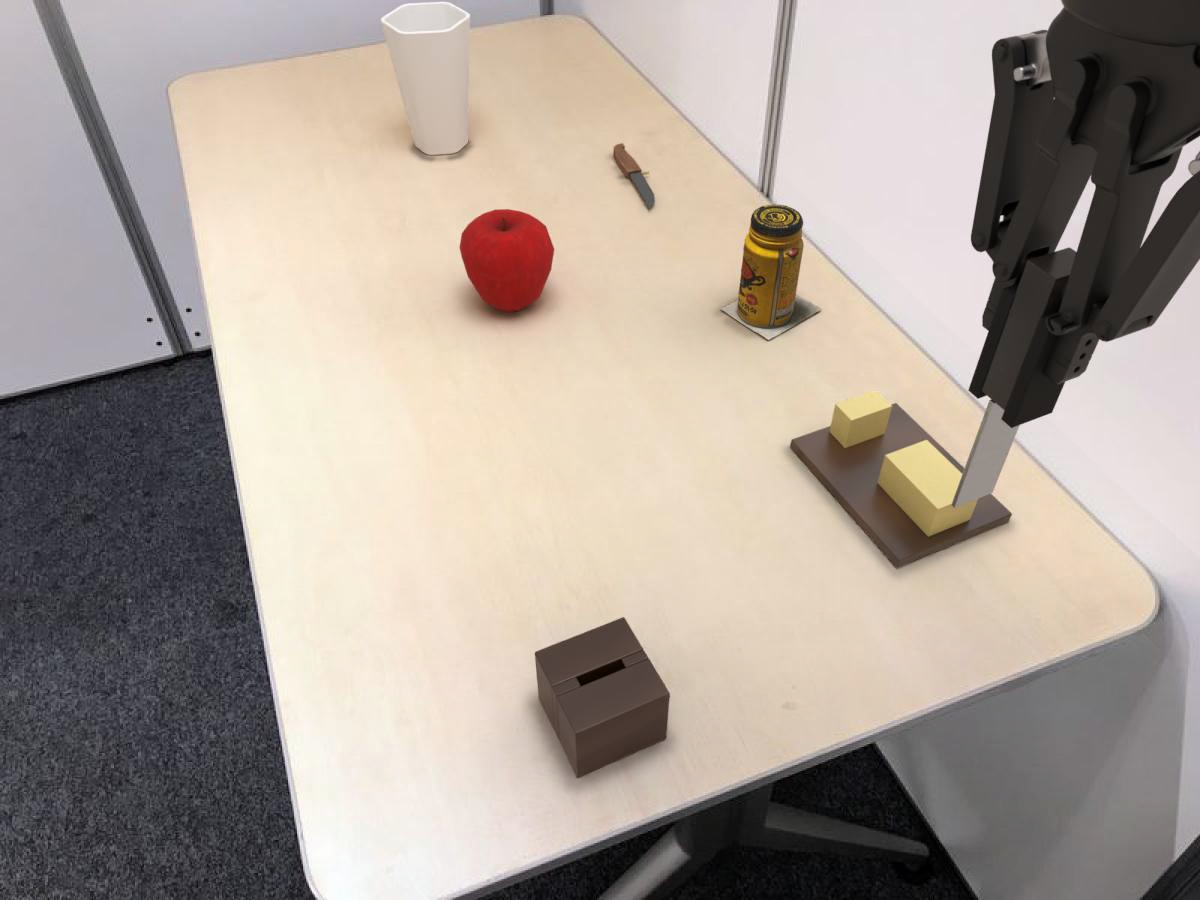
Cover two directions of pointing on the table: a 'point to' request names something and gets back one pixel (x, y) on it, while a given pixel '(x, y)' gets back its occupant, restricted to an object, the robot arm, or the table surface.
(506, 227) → the apple
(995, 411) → the butter knife
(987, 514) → the butter board
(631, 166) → the knife
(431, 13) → the cup
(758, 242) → the condiment
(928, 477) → the butter block
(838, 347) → the table surface
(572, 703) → the knife block
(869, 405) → the butter slice
